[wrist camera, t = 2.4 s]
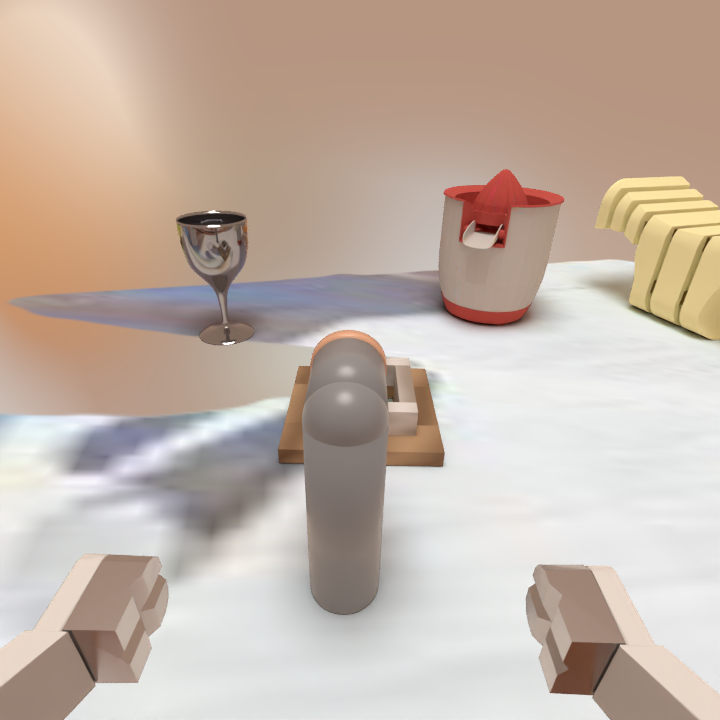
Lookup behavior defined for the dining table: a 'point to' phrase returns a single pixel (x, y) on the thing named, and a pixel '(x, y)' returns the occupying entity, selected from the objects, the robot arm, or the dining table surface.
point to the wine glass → (217, 263)
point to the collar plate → (406, 418)
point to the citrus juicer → (495, 248)
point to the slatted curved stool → (670, 249)
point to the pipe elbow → (345, 469)
